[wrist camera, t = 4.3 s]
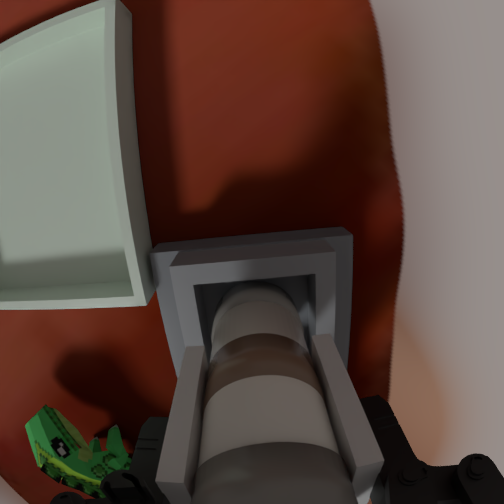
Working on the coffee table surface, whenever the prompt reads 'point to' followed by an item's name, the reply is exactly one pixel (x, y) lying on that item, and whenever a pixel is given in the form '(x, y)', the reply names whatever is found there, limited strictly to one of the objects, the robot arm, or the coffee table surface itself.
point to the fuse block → (255, 269)
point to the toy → (74, 452)
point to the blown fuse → (265, 409)
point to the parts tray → (72, 166)
